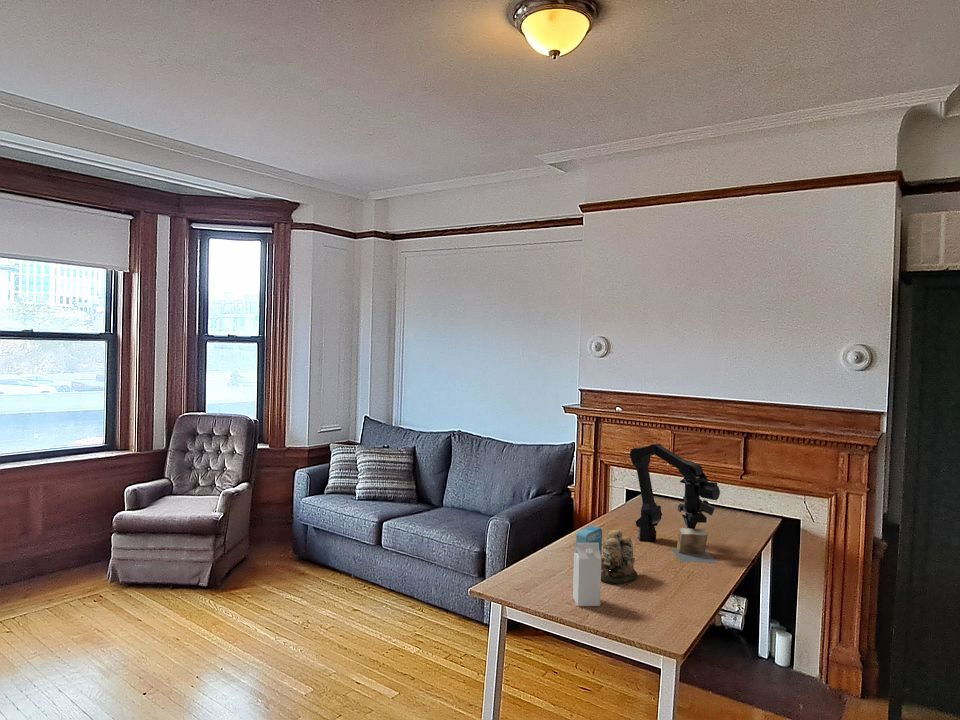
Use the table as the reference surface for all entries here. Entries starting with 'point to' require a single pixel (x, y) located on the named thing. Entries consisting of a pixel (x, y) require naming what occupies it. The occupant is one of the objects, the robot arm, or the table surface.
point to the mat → (694, 557)
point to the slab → (692, 541)
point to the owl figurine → (618, 559)
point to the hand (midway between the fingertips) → (691, 534)
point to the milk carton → (587, 574)
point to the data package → (590, 536)
